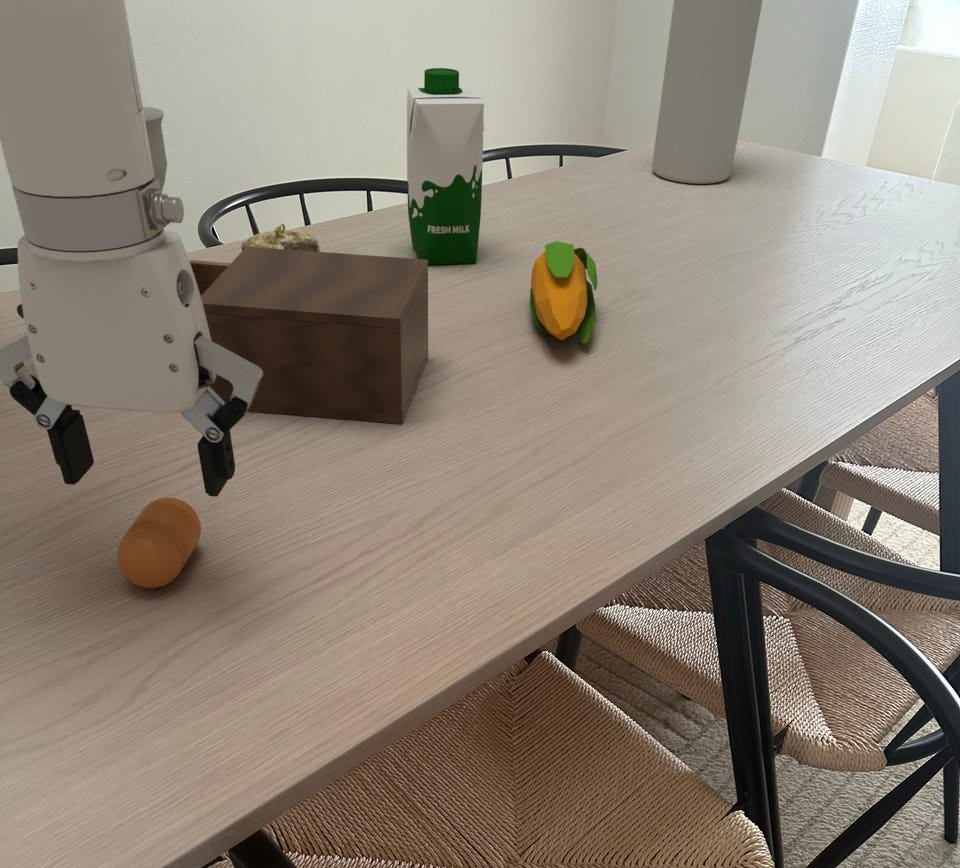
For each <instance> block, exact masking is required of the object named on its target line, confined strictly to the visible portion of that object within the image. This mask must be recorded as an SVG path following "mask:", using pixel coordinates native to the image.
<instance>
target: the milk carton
mask: <svg viewBox="0 0 960 868" xmlns="http://www.w3.org/2000/svg"><path fill="white" fill-rule="evenodd" d="M423 75H424V79H423V82H424V83H423V87H417V88H407V98H406V176H407V177H406V178H407V179H406V181H407V214H408V216H407V217H408V222H409V229H410V231H409V232H410V239H411V246H412V249H413V251H414V253H415V255H416V257H417V259H425V260H428V266H438V265H440V266H443V265H465V264H467V265H468V264H477V260H478V249H479V240H480V239H479V238H480V230H481V229H480V228H481V219H482V218H481V217H482V216H481V214H482V193H483V192H482V191H483V165H484V164H483V163H484V132H485V130H484V129H485V124H484V114H485V113H484V111H485V110H484V108H485V103H484V102H483V101H482V99H481V97H480V95H479V94H477V93H476V92H475V91H473V90H472V88H467V87H465V88H461V87H460V72H459V70H457V69H453V68H445V67H433V68H427V69H425V70H424V74H423Z"/></svg>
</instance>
